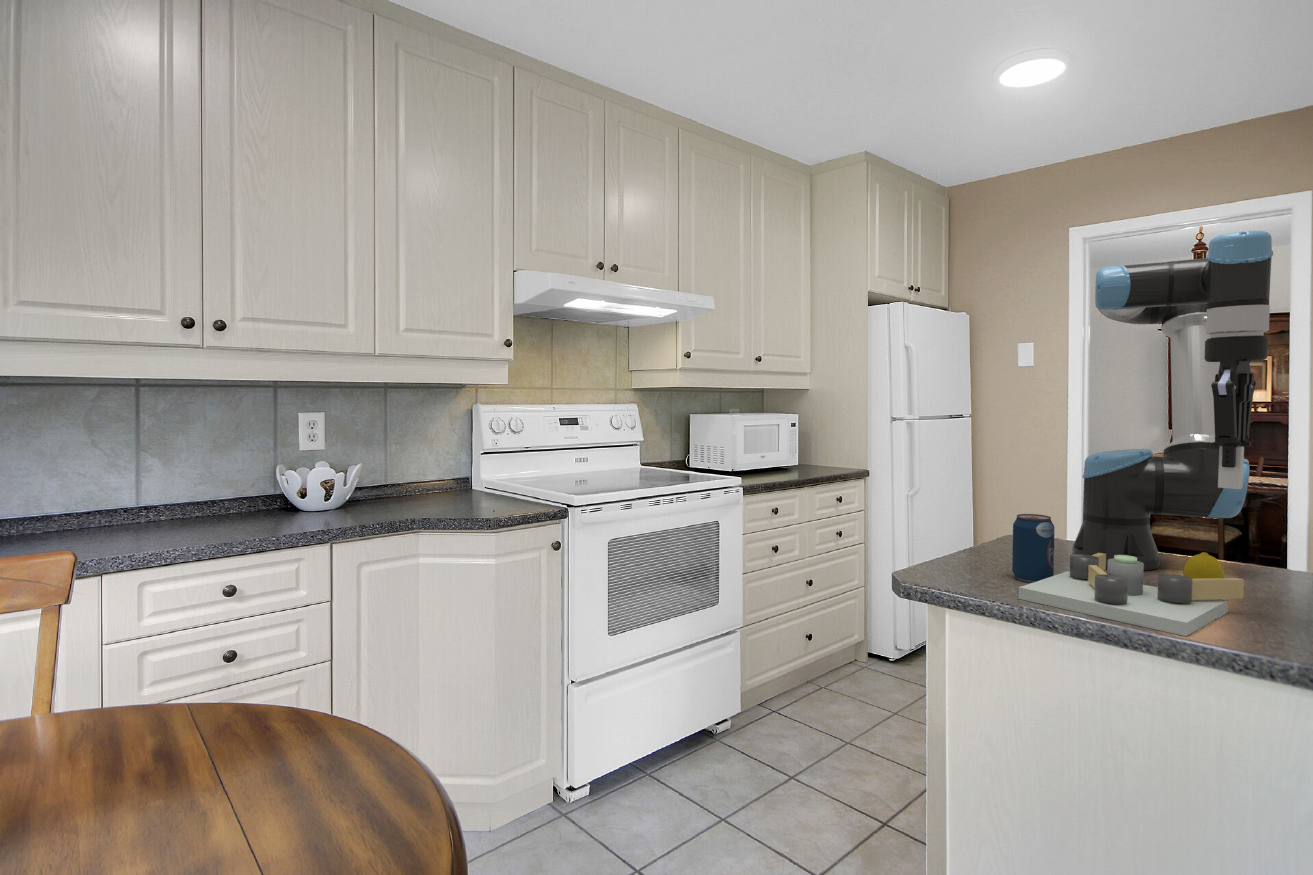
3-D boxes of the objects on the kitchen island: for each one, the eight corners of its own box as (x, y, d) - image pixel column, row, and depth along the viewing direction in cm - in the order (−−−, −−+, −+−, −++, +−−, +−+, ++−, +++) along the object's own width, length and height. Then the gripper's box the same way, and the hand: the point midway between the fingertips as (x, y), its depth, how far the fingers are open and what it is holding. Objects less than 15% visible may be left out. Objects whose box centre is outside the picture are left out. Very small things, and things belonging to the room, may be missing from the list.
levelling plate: (1067, 581, 131) (1068, 540, 131) (1227, 612, 112) (1229, 564, 112) (1018, 598, 121) (1019, 553, 120) (1186, 636, 101) (1187, 582, 101)
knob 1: (1091, 580, 123) (1092, 561, 123) (1065, 575, 127) (1065, 556, 127) (1115, 572, 129) (1115, 553, 129) (1089, 567, 132) (1089, 549, 132)
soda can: (1059, 584, 130) (1061, 519, 129) (1019, 583, 131) (1020, 519, 130) (1044, 574, 137) (1046, 513, 136) (1006, 573, 138) (1007, 512, 137)
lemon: (1231, 604, 116) (1233, 556, 116) (1193, 602, 117) (1194, 555, 117) (1211, 595, 122) (1213, 549, 121) (1175, 593, 123) (1177, 548, 122)
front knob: (1131, 604, 109) (1132, 582, 109) (1098, 602, 111) (1099, 580, 110) (1106, 583, 121) (1107, 563, 121) (1077, 581, 123) (1078, 562, 122)
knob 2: (1170, 603, 110) (1171, 581, 109) (1150, 595, 114) (1151, 574, 114) (1251, 602, 110) (1252, 580, 110) (1228, 594, 114) (1229, 572, 114)
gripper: (1219, 338, 115) (1213, 481, 117) (1192, 336, 107) (1186, 489, 109) (1279, 335, 109) (1272, 485, 111) (1255, 332, 101) (1248, 495, 103)
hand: (1230, 487), depth 110 cm, fingers closed
